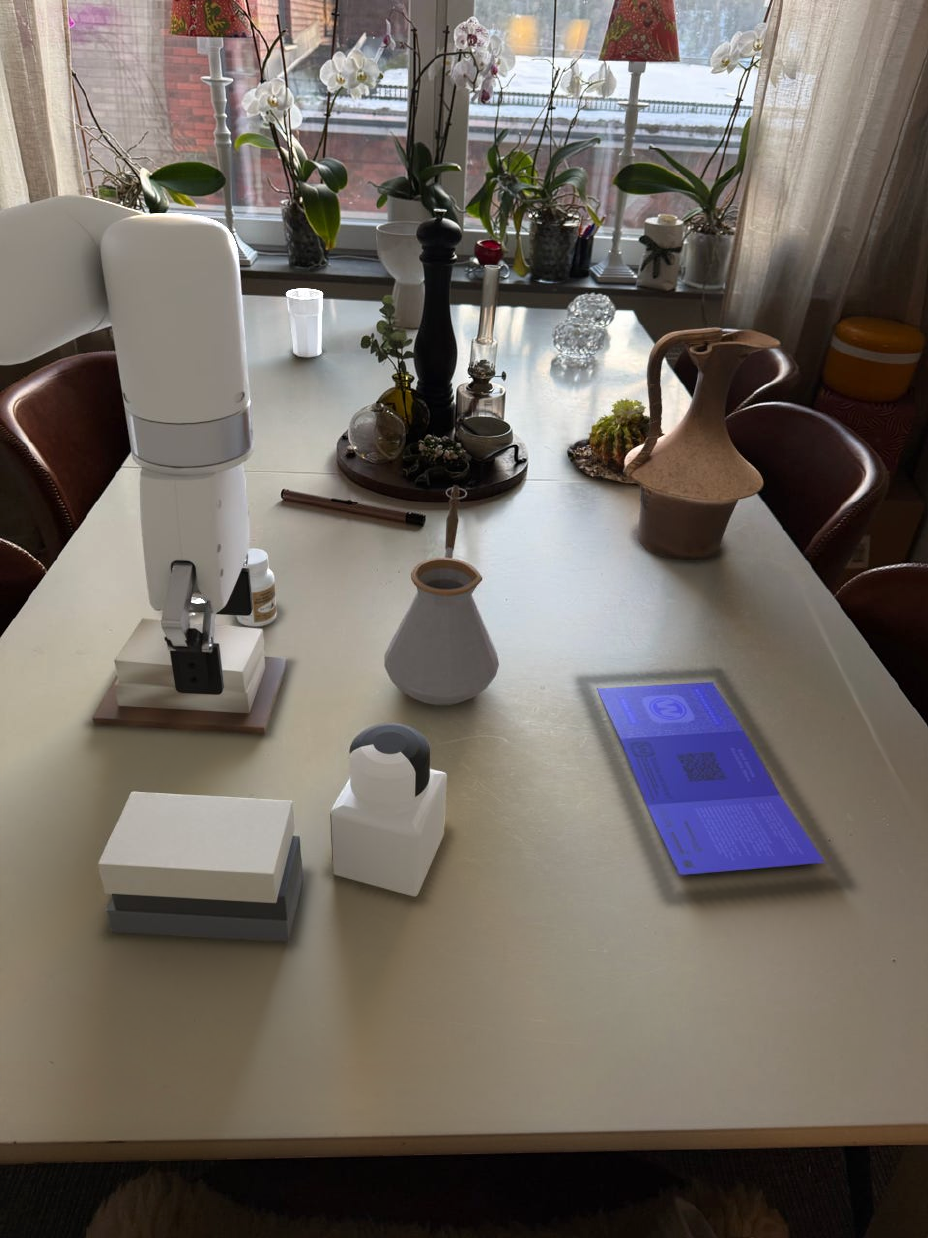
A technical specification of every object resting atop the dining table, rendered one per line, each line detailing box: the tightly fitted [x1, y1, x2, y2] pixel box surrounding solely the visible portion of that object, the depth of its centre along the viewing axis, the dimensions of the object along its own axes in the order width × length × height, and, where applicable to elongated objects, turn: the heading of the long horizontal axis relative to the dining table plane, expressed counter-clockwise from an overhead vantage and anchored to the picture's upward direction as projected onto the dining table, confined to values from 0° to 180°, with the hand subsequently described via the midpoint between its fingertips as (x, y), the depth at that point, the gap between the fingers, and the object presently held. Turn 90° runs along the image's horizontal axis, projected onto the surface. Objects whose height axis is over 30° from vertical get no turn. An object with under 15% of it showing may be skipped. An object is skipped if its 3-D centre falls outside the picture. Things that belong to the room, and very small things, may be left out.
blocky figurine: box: [329, 722, 448, 897], centre depth 73 cm, size 7×7×12 cm
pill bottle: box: [235, 548, 278, 628], centre depth 101 cm, size 4×4×8 cm
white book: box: [97, 791, 295, 903], centre depth 67 cm, size 12×7×3 cm, turn 88°
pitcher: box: [623, 327, 781, 562], centre depth 115 cm, size 18×17×28 cm
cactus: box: [566, 397, 666, 484], centre depth 140 cm, size 17×16×10 cm
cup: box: [285, 288, 324, 358], centre depth 175 cm, size 7×7×11 cm
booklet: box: [596, 681, 826, 876], centre depth 86 cm, size 12×25×1 cm, turn 8°
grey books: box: [106, 835, 304, 943], centre depth 70 cm, size 13×6×5 cm, turn 88°
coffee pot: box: [383, 484, 500, 706], centre depth 95 cm, size 21×12×15 cm, turn 177°
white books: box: [92, 618, 288, 735], centre depth 90 cm, size 16×11×6 cm
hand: (217, 649), depth 68 cm, fingers open, 9 cm apart
